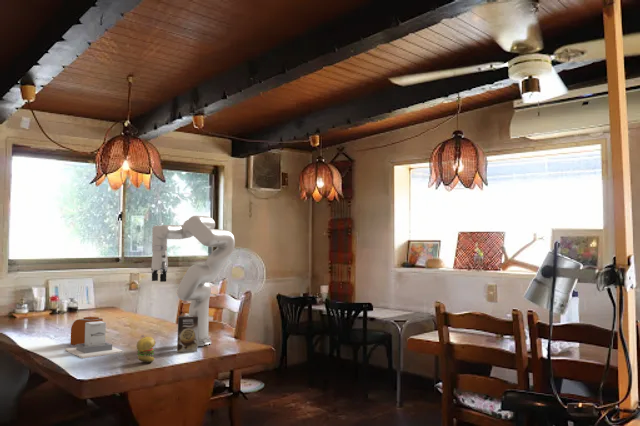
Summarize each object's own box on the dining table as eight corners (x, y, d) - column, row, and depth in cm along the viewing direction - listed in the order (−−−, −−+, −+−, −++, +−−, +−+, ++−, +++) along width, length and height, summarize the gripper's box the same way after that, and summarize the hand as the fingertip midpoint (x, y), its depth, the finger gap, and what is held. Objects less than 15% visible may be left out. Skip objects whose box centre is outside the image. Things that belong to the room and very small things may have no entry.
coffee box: (177, 353, 235) (177, 317, 236) (177, 350, 241) (177, 315, 242) (197, 351, 237) (198, 316, 238) (197, 349, 243) (197, 314, 245)
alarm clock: (104, 344, 257) (105, 316, 258) (89, 347, 249) (89, 319, 250) (85, 341, 264) (86, 315, 265) (70, 344, 257) (71, 317, 258)
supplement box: (88, 352, 234) (89, 323, 234) (84, 349, 239) (84, 322, 240) (105, 349, 238) (106, 322, 239) (100, 347, 244) (101, 320, 245)
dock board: (123, 352, 236) (123, 345, 236) (82, 358, 224) (82, 350, 224) (104, 345, 254) (104, 338, 254) (65, 350, 241) (65, 343, 242)
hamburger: (158, 361, 217) (159, 332, 217) (148, 365, 210) (149, 335, 210) (142, 360, 219) (143, 332, 219) (132, 364, 212) (132, 334, 212)
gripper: (173, 248, 270) (173, 281, 269) (158, 248, 282) (158, 280, 281) (160, 248, 265) (159, 282, 264) (145, 248, 277) (145, 280, 276)
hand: (158, 281), depth 272 cm, fingers open, 9 cm apart
